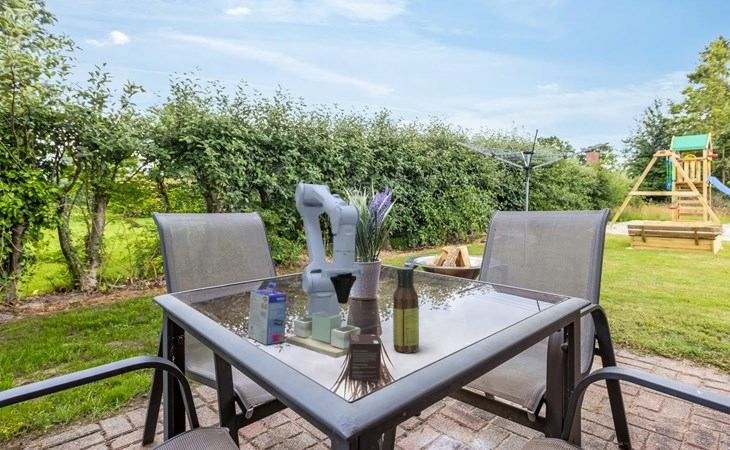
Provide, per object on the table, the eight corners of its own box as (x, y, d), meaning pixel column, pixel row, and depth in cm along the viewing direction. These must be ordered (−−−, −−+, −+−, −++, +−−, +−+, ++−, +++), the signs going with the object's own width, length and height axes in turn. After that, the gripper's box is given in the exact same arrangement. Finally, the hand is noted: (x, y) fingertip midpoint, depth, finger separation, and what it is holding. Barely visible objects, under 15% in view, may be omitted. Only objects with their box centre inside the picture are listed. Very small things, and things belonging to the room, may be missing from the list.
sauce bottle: (420, 347, 94) (423, 267, 94) (415, 355, 88) (418, 270, 88) (395, 344, 96) (397, 265, 96) (388, 351, 90) (391, 268, 90)
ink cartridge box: (286, 342, 96) (287, 284, 96) (266, 346, 92) (268, 286, 92) (266, 333, 103) (268, 279, 103) (247, 337, 99) (249, 281, 99)
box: (347, 369, 79) (348, 333, 79) (376, 369, 79) (377, 333, 79) (349, 381, 73) (350, 342, 73) (380, 381, 73) (381, 342, 73)
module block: (322, 334, 98) (323, 310, 98) (340, 339, 94) (341, 314, 94) (311, 337, 95) (312, 313, 95) (329, 342, 91) (330, 317, 91)
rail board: (317, 333, 104) (317, 314, 104) (366, 346, 94) (366, 325, 94) (286, 342, 95) (286, 321, 95) (336, 357, 85) (336, 334, 85)
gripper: (336, 253, 91) (335, 309, 91) (372, 251, 103) (371, 301, 103) (315, 251, 96) (314, 305, 95) (352, 249, 107) (351, 297, 107)
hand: (342, 303), depth 99 cm, fingers closed
